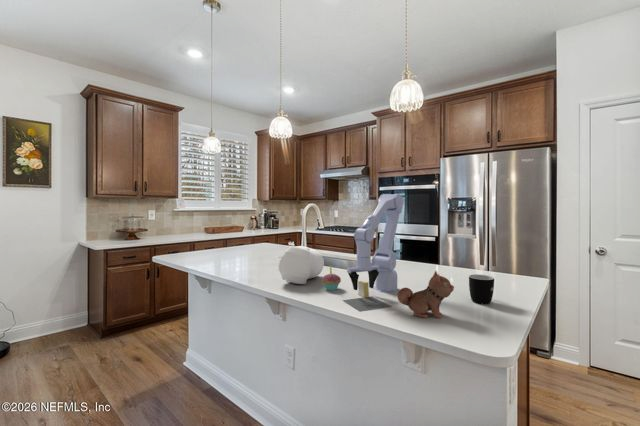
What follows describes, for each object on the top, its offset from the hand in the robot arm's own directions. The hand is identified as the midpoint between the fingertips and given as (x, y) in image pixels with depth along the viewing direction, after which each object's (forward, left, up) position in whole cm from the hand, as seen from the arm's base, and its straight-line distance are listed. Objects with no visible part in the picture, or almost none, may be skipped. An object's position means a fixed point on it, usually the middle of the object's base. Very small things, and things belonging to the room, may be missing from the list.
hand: (363, 288), depth 132 cm
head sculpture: (+15, -38, -4) cm, 41 cm away
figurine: (-10, +26, -4) cm, 28 cm away
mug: (-41, +23, -4) cm, 47 cm away
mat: (+4, +9, -3) cm, 10 cm away
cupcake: (+8, -15, -4) cm, 17 cm away
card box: (0, 0, -3) cm, 3 cm away
